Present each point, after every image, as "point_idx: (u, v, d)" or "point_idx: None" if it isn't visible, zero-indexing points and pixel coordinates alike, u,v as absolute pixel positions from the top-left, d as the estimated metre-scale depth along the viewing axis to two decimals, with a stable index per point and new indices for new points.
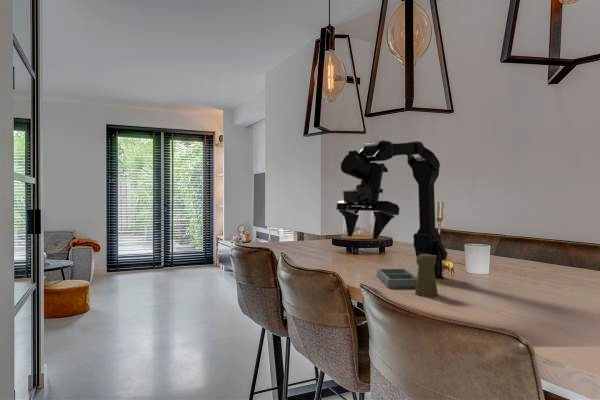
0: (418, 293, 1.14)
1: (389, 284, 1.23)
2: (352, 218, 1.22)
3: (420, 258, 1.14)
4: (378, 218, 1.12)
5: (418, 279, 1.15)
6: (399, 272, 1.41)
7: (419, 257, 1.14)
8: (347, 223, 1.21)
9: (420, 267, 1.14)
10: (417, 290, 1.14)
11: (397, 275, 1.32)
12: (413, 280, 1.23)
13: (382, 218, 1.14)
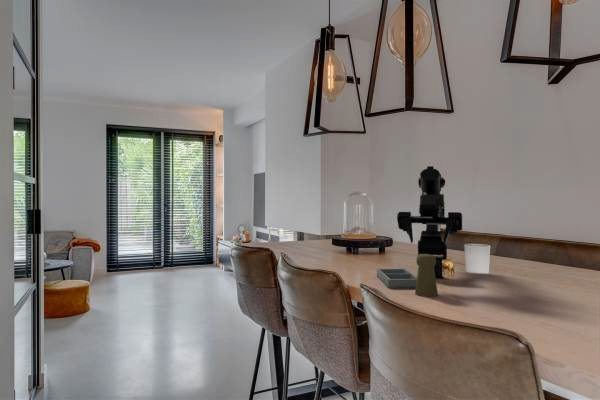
0: (418, 293, 1.14)
1: (389, 284, 1.23)
2: None
3: (420, 258, 1.14)
4: (450, 225, 1.22)
5: (418, 279, 1.15)
6: (399, 272, 1.41)
7: (419, 257, 1.14)
8: (410, 230, 1.26)
9: (420, 267, 1.14)
10: (417, 290, 1.14)
11: (397, 275, 1.32)
12: (413, 280, 1.23)
13: None
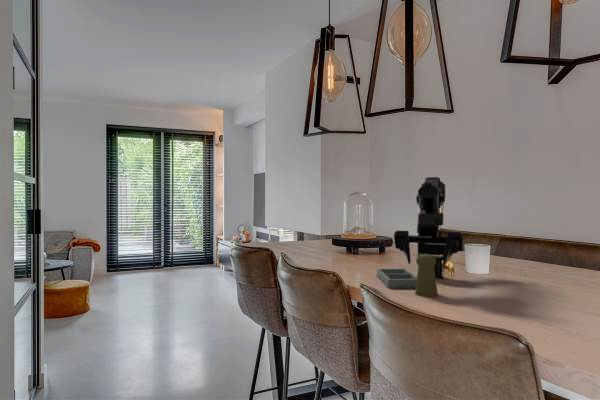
0: (418, 293, 1.14)
1: (389, 284, 1.23)
2: (409, 248, 1.21)
3: (420, 258, 1.14)
4: (450, 246, 1.16)
5: (418, 279, 1.15)
6: (399, 272, 1.41)
7: (419, 257, 1.14)
8: (407, 250, 1.19)
9: (420, 267, 1.14)
10: (417, 290, 1.14)
11: (397, 275, 1.32)
12: (413, 280, 1.23)
13: None
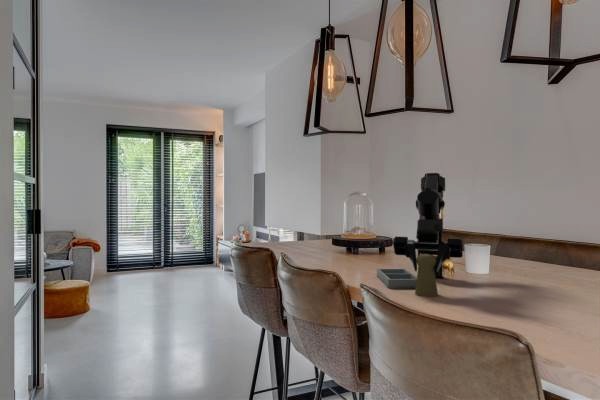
0: (418, 293, 1.14)
1: (389, 284, 1.23)
2: None
3: (420, 258, 1.14)
4: (442, 252, 1.15)
5: (418, 279, 1.15)
6: (399, 272, 1.41)
7: (419, 257, 1.14)
8: (414, 257, 1.17)
9: (420, 267, 1.14)
10: (417, 290, 1.14)
11: (397, 275, 1.32)
12: (413, 280, 1.23)
13: None
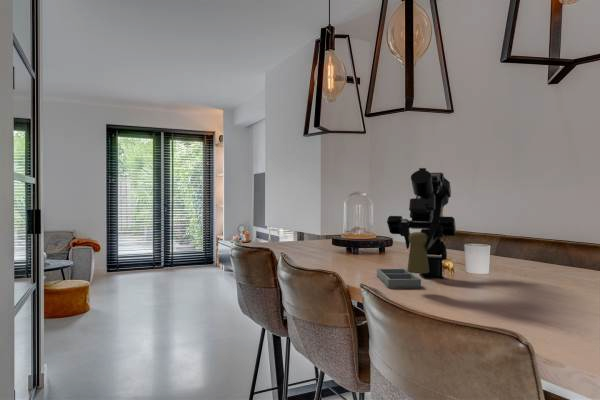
0: (409, 270, 1.17)
1: (389, 284, 1.23)
2: (409, 233, 1.22)
3: (411, 236, 1.17)
4: (434, 230, 1.17)
5: (410, 256, 1.18)
6: (399, 272, 1.41)
7: (410, 235, 1.17)
8: (406, 235, 1.20)
9: (411, 245, 1.17)
10: (409, 267, 1.17)
11: (397, 275, 1.32)
12: (413, 280, 1.23)
13: (433, 233, 1.19)
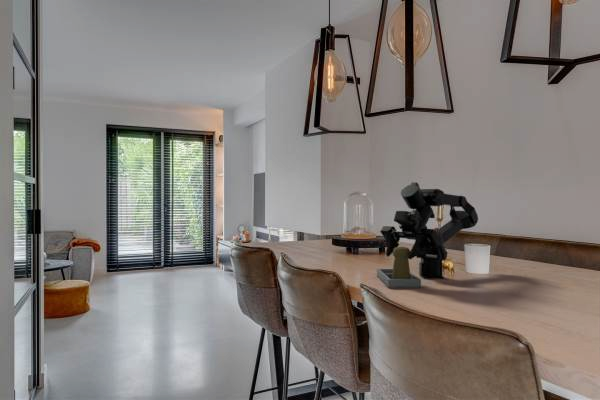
0: None
1: (389, 284, 1.23)
2: (394, 243, 1.33)
3: (394, 250, 1.27)
4: (418, 241, 1.24)
5: (393, 268, 1.28)
6: None
7: None
8: (389, 244, 1.31)
9: None
10: None
11: None
12: (413, 280, 1.23)
13: (421, 244, 1.26)
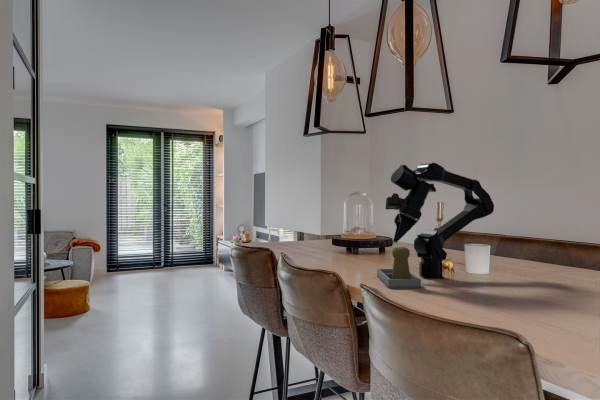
0: None
1: (389, 284, 1.23)
2: None
3: (393, 250, 1.27)
4: (401, 220, 1.30)
5: None
6: None
7: (393, 249, 1.28)
8: None
9: (394, 258, 1.28)
10: None
11: None
12: (413, 280, 1.23)
13: (407, 221, 1.30)
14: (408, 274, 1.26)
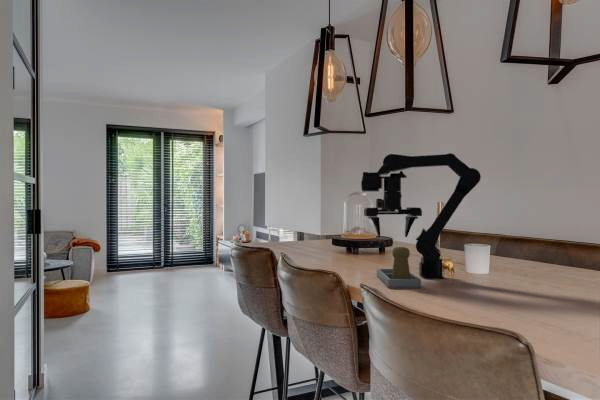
0: None
1: (389, 284, 1.23)
2: (407, 221, 1.43)
3: (393, 250, 1.27)
4: None
5: None
6: None
7: (393, 249, 1.28)
8: None
9: (394, 258, 1.28)
10: None
11: None
12: (413, 280, 1.23)
13: None
14: (408, 274, 1.26)
